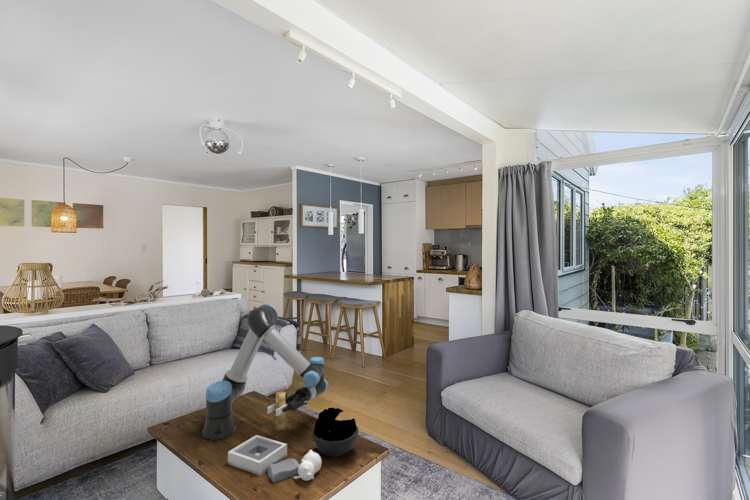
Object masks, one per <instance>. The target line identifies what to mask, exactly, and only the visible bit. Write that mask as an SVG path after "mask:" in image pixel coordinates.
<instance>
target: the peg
mask: <svg viewBox="0 0 750 500" xmlns="http://www.w3.org/2000/svg"><path fill="white" fill-rule="evenodd" d="M285 394H286V392H285V391H281V390H280V391H277V392H276V393H275V400H276V409H278V408H280V407H282V406H284V405H285ZM275 430H276V431H282V430H286V412H284V413H282V414H280V415H278V416H276V415H275Z"/></svg>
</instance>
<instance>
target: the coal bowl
mask: <svg viewBox="0 0 750 500" xmlns="http://www.w3.org/2000/svg"><path fill="white" fill-rule="evenodd" d="M342 412H344V410H343V409H341V408H339V407H338V408H335V407H327V408H324V409H323V410H322V411H320V412H319V413H318V416H317V420H316V421H315V422H314V423H315V425H314V429H312V438H313V439H312V440H313V442H314V445H315V446H316V448H317V449H318V450H319V451H320V452H321V453H322V454H324V455H325V456H328V457H334V458H335V457H341V456H343V455H345V454H347V453H348V452H350V450H351V449H353V448H354V446H355V445H356V444H357V443H356V442H357V440H358V437H359V432H360V431H359V426H358V425H357V423H356V422H357V421H356V419H355V418H354V417H353V418H352V419H342V420H341V419H337V418H338V416H339V415H340V413H341V414H342Z"/></svg>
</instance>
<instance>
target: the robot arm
mask: <svg viewBox="0 0 750 500" xmlns="http://www.w3.org/2000/svg"><path fill="white" fill-rule="evenodd" d="M278 317H279V314H278V310H277V309H276V307H275V306H273V305H271V304H267V303H266V304H261V305H260V306H258V307H255V308H252V309H251V310H250V311H249V313H248V314H247V318H246V319H247V320H246V323H247V327H248V329H249V330H248V331H247V334H246V335H245V336H246V337H244V340H243V342H242V345H241V347H240V348H239V350H238V352H237V355H236V357H235V359H234V361H233V363H232V366H231V367H230V369H229V370H228V369H227V370H226V372H225V374H224V375H223V378H222V380H219V381H216V382H213V383H211V384H210V385H208V387H207V388H206V392H205V405H206V407H205V411H206V414H205V416H206V419H205V422H204V426H203V428H202V438H203V437H204V438H203V439H205V438H206V439H205V440H207V439H210V440H209V441H216V440H222V439H225V438H226V439H227V438H228V437H230V436H232V435H234V434H235V432H236V430H237V425H236V421H235V419H234V416H233V402H234V401H235V400H237V399H238V398H239V397H240V396H241V395H242V394H243V392H244V391H245V389H246V383H247V382H248V376H247V375H248V372H249V370H250V368H251V366H252V364H253V362H254V359H255V357H256V355H257V353H258V350H259V348H260V347H261V344H262V343H263V342H262V341H264V342H265V343H267V345H269V347H270V348H272V350H273V351H275V352H276V354H277V355H278V356H279V357H281V359H282V360H284V362H285V363H286V364H287V365H288V366H289V367H291V369H292V370H293V371H295V373H296V374H297V375H298V376H300V378H302V382H303V384H304V385H303V386H302V387H299V388H297V389H296V390H295V392H294V393H293V394H292V393H291V394H290V395H289V393H285V405H284V406H282V407H280V408H278V409H276V399H274V400H273V401H274V403H273V404H271V405H269V406H267V408H266V413H267V414H268V415H269V414H271V413H273V412H275V417H276V416H278V415H280V414H282V413H284V412H285V413H287V412H288V411H292V412H294V411H296V410H298V409H299V408H301V407H303V406H306V405H307V404H308V402H309V401H311V400H313V399H315V398H316V397H318V396H320V395H322V394H324V393H325V392H326V391H327V390H328V388H329V383H328V381H327V379H325V359H324V357H321V356H314V357H310V359H309V360H308V359H307V358H305V356H303V354H302V353H301V352H299V351H298V350H297V348H296V347H295V346H294V345H293V344H291V342H289V340H287V339H286V338H285V337H284V335H283V334H281V333H280V332H279V330H278V329H276V325H275V323H276V322H277V320H278Z"/></svg>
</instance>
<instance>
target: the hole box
mask: <svg viewBox="0 0 750 500" xmlns="http://www.w3.org/2000/svg"><path fill="white" fill-rule="evenodd" d="M287 456H288V443H284V442H281V441H279V440H275V439H271V438H267V437H265V436H261V435H258V434H256V435H253V436H252V437H250V439H247V440H245V441H244V442H242V443H240V444H238V445H237V446H236V447H233V448H232V449H230V450H228V451H227V465H230V466H232V467H235V468H237V469H241V470H244V471H246V472H249V473H252V474H255V475H257V476H261V475H263V474H264V473H265V472H268V466H269V465H271V464H276V463H279V462H281V461H283V460H284V459H285V458H286V457H287Z"/></svg>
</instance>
